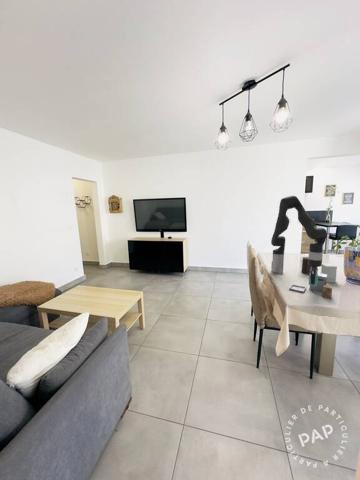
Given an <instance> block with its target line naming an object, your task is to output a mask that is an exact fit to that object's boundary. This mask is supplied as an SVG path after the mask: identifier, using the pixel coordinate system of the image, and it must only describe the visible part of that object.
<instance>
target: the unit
mask: <svg viewBox="0 0 360 480" xmlns="http://www.w3.org/2000/svg"><path fill="white" fill-rule="evenodd" d="M317 274H318V284H317V286H314V285H309V291H310V290H311V291H315V292H320V293H323V286H324V285H328V282H327V274H321V272H318V273H317Z"/></svg>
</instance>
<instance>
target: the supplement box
mask: <svg viewBox="0 0 360 480" xmlns="http://www.w3.org/2000/svg"><path fill="white" fill-rule="evenodd" d="M337 268H338V266H336V265H334V264H332V263H322V266H321V269H320V273H321V274H327V283H336V282H337V272H338V271H337Z"/></svg>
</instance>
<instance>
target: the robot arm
mask: <svg viewBox="0 0 360 480" xmlns="http://www.w3.org/2000/svg"><path fill="white" fill-rule="evenodd" d="M291 209H295V210H296V211H297V219H298V222H299V224H300V225H301V226H302V227H303V228H304V230H305V231H304V232H305V233H306V235H307V237H308V238H309V239H311V240H314V241H312V242H311V243H309V250H308V251H309V252H308V256H307V257H308V265H310V266H312V267H311V268H310V279H311V284H313V285H314V284H315V279H316V278H315V277H316V276H317V273H319V272H318V271H319V268H320V267H322V264H323V250H324V244H325V243H326V240H327V236H328V233H327V230H326V229H325V228H324V227H318V228H317V227H316V228H315V226H317V224H316V222H315V220H314V219H313V218H312V216H310V215H309V214H308V212H307V211H306V209H305V207H304V206H303V204H302V202H301V201H300V199H299V198H298V197H297V196H295V195H289V196H286V197H283V198H281V199H280V202H279V208H278V214H277V215H278V216H277V219H276V223H275V227H274V231H273V234H272V237H271V240H270V243H271V245H272V247H278V248H276V249H273V250H272V258H271V259H272V261H271V267H270V268H271V269H270V272H272V273H275V274H283V273H284V261H285V249H286V247H285V246H286V237H285V236H284V235H282V234H283V233H285V232H286V231H287V230H288V228H289V225H290V218H289V217H288V215H287V212H288V210H291ZM312 276H314V277H312Z"/></svg>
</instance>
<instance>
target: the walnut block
mask: <svg viewBox="0 0 360 480" xmlns="http://www.w3.org/2000/svg"><path fill="white" fill-rule="evenodd" d="M332 293H333V286H332V285H328V284H326V285H324V286H323V292H322V298H325V299H330V300H331V299H332V296H333V294H332Z"/></svg>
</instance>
